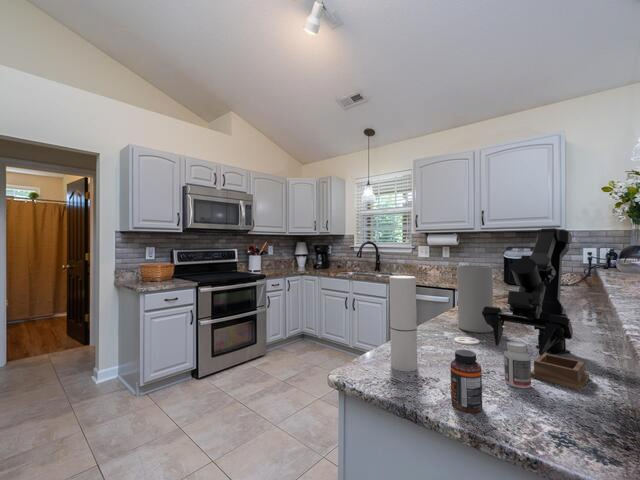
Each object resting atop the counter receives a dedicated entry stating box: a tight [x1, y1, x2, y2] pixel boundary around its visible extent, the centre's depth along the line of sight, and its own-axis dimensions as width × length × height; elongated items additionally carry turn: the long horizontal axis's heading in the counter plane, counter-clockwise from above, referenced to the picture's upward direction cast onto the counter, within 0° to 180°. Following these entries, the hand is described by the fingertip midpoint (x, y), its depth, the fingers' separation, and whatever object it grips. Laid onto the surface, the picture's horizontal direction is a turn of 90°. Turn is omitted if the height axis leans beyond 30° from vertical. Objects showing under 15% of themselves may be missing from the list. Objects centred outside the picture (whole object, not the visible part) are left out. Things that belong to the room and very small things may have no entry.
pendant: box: [453, 336, 487, 346], centre depth 106 cm, size 7×11×1 cm, turn 94°
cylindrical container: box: [388, 275, 418, 372], centre depth 85 cm, size 7×7×25 cm
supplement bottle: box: [450, 349, 483, 414], centre depth 64 cm, size 6×6×11 cm
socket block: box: [531, 352, 590, 391], centre depth 77 cm, size 10×10×4 cm
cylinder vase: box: [456, 264, 494, 334], centre depth 121 cm, size 12×12×25 cm
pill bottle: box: [503, 340, 532, 389], centre depth 74 cm, size 5×5×10 cm
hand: (517, 349), depth 74 cm, fingers open, 9 cm apart
